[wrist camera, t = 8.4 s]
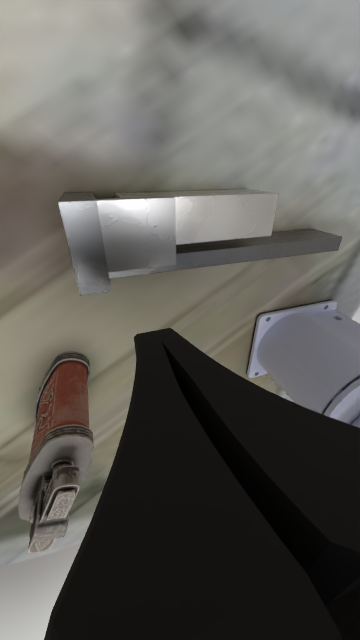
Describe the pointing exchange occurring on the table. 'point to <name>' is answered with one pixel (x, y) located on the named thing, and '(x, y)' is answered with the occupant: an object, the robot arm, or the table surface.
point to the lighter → (57, 450)
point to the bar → (219, 213)
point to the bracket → (158, 240)
